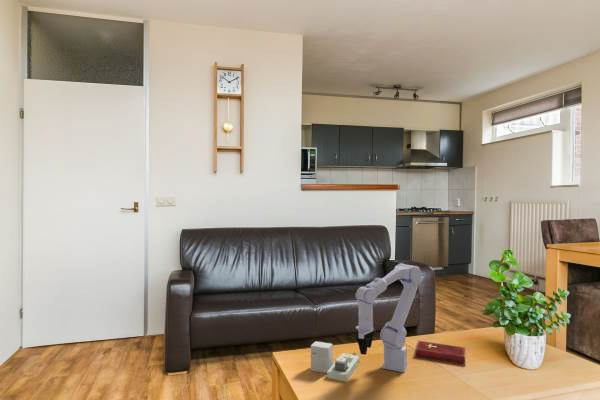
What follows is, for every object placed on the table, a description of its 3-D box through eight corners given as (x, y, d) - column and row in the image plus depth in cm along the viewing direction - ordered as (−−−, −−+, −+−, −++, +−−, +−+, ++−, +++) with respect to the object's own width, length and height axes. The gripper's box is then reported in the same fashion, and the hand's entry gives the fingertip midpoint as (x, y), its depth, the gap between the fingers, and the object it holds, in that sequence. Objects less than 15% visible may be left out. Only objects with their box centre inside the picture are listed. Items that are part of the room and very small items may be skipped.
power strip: (363, 356, 173) (363, 350, 173) (346, 381, 149) (346, 374, 149) (346, 353, 176) (346, 347, 176) (327, 377, 152) (327, 371, 152)
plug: (347, 372, 156) (347, 357, 156) (344, 377, 152) (344, 361, 152) (338, 371, 158) (338, 356, 158) (334, 375, 154) (335, 360, 154)
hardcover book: (465, 366, 164) (465, 356, 164) (414, 357, 173) (414, 348, 173) (465, 356, 175) (465, 346, 175) (418, 348, 184) (418, 339, 184)
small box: (333, 368, 160) (333, 343, 160) (328, 374, 155) (328, 348, 155) (315, 365, 164) (315, 340, 164) (310, 370, 159) (310, 345, 159)
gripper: (360, 311, 163) (360, 342, 163) (351, 321, 150) (351, 355, 150) (377, 313, 160) (377, 345, 160) (368, 323, 147) (368, 358, 147)
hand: (365, 350), depth 155 cm, fingers open, 7 cm apart
